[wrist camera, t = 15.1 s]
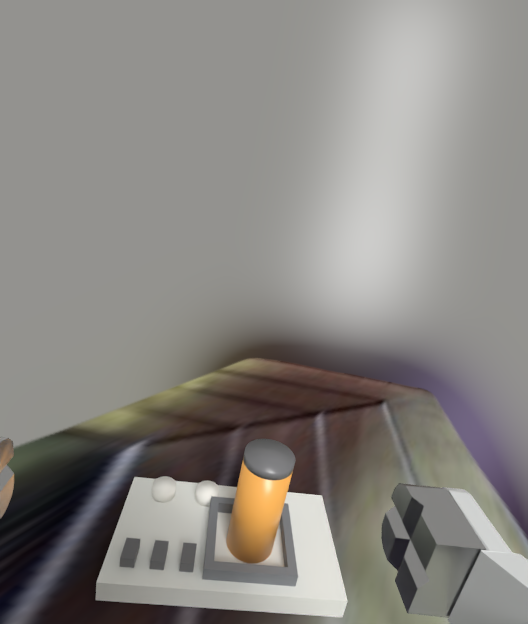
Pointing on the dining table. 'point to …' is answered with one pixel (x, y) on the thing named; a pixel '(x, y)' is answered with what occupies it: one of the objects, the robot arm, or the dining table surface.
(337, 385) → the dining table surface
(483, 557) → the robot arm
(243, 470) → the orange capped cylinder
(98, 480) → the dining table surface
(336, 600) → the board
